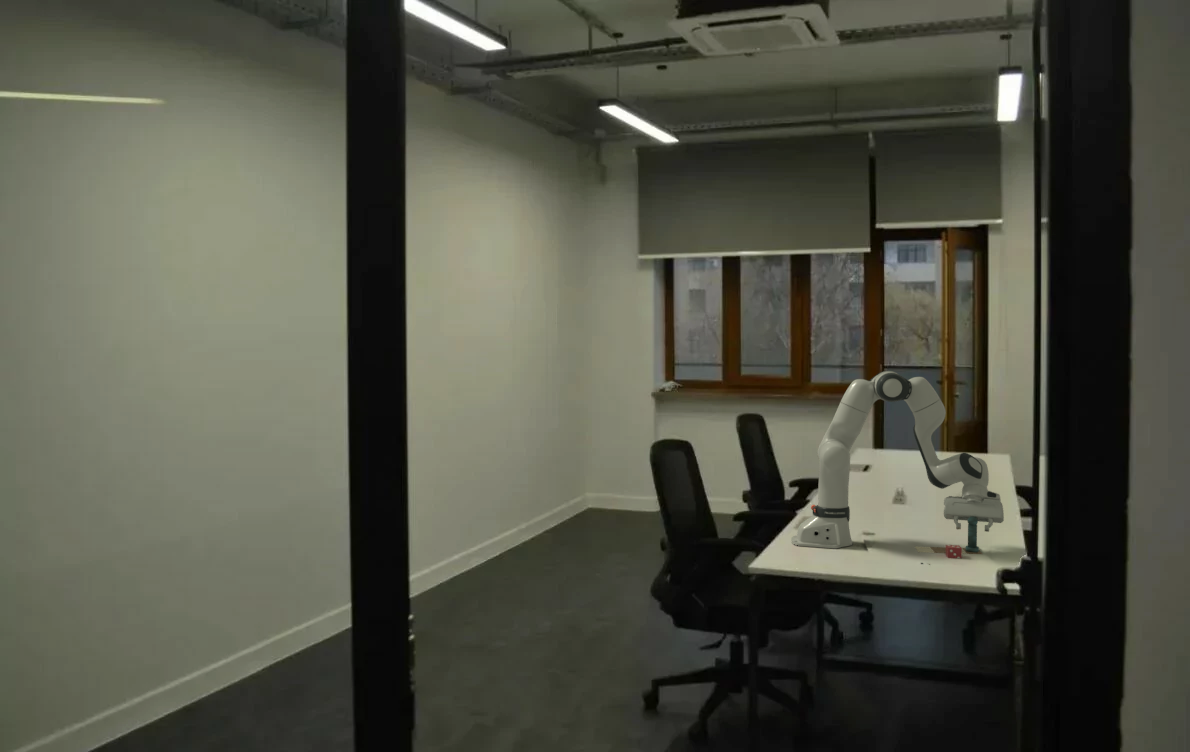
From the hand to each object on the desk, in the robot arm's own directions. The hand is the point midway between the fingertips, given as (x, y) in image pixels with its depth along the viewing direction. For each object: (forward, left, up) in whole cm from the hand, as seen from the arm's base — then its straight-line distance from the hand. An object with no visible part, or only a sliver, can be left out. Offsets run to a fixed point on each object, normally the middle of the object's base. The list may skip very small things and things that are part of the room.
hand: (972, 529), depth 343 cm
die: (-8, -9, -9) cm, 15 cm away
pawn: (0, +1, -8) cm, 8 cm away
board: (-8, +1, -9) cm, 12 cm away
